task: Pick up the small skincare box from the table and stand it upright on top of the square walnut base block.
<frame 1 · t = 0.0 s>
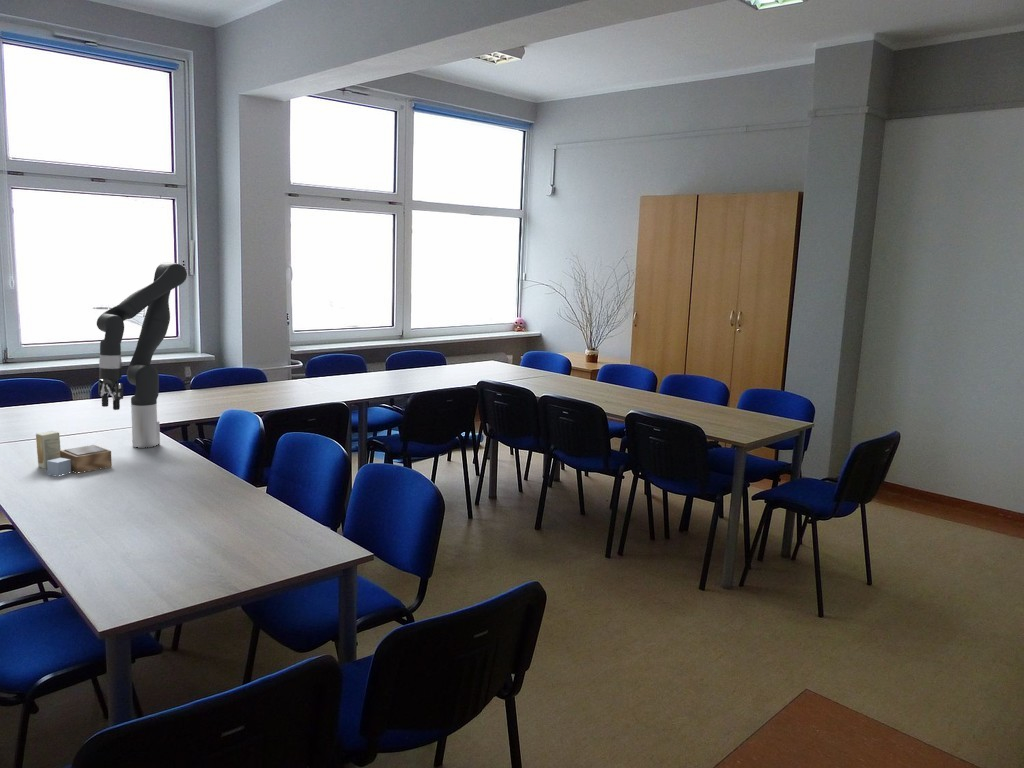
hand: (110, 408, 290), 17 cm above the table, tool pointing down, fingers open, 8 cm apart
walnut base: (86, 467, 271), on the table
skincare box: (49, 466, 271), on the table
slate cube: (59, 474, 262), on the table
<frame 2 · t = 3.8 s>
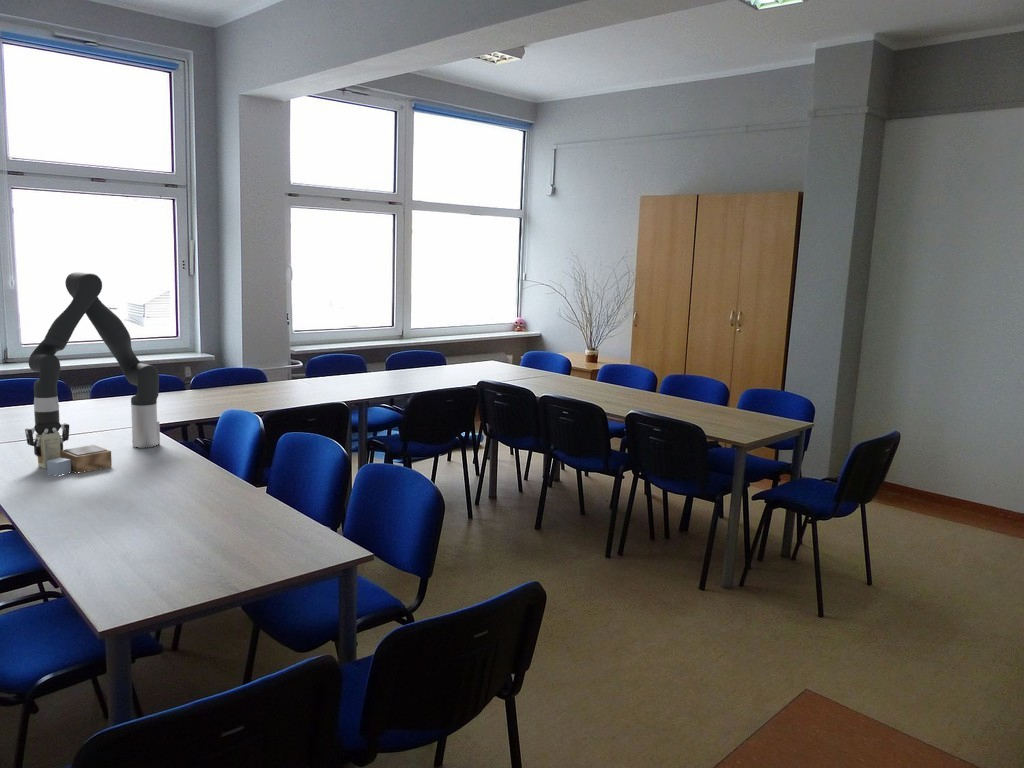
hand: (49, 454, 270), 4 cm above the table, tool pointing down, fingers closed on skincare box, 6 cm apart
skincare box: (49, 466, 271), on the table, touching gripper
everything else where it was.
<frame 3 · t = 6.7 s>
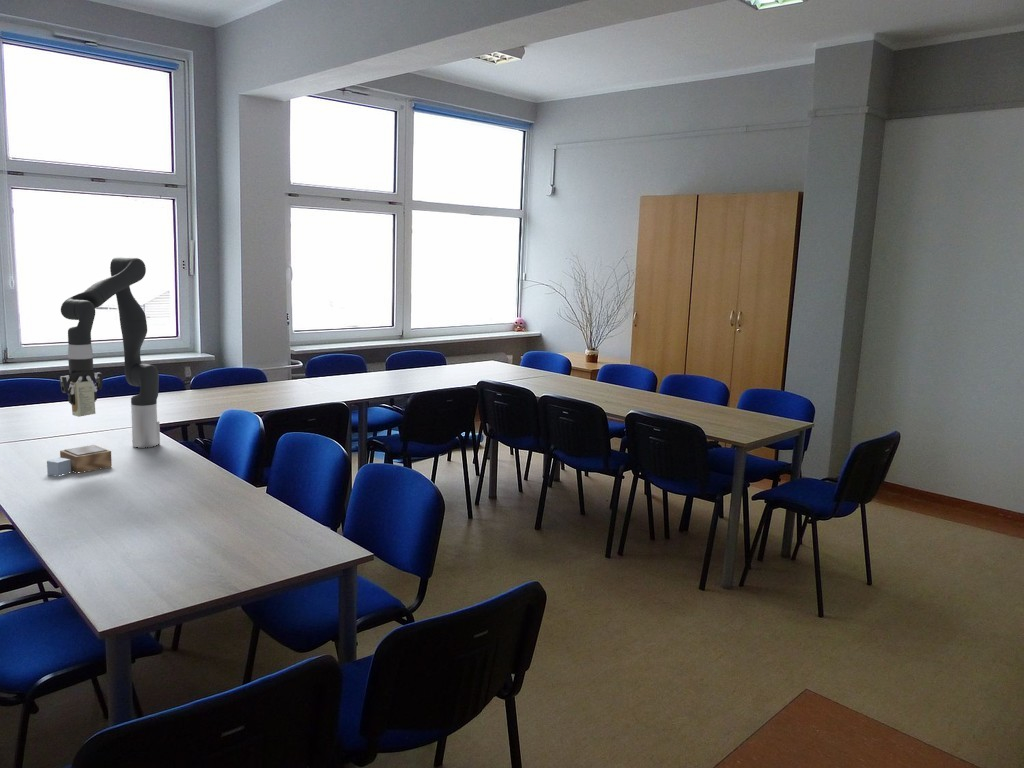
hand: (83, 403, 268), 23 cm above the table, tool pointing down, fingers closed on skincare box, 6 cm apart
skincare box: (83, 415, 268), point 19 cm above the table, touching gripper
everything else where it was.
when the fingers open (12 cm above the table, at t = 9.5 s): skincare box stays where it is, resting on walnut base.
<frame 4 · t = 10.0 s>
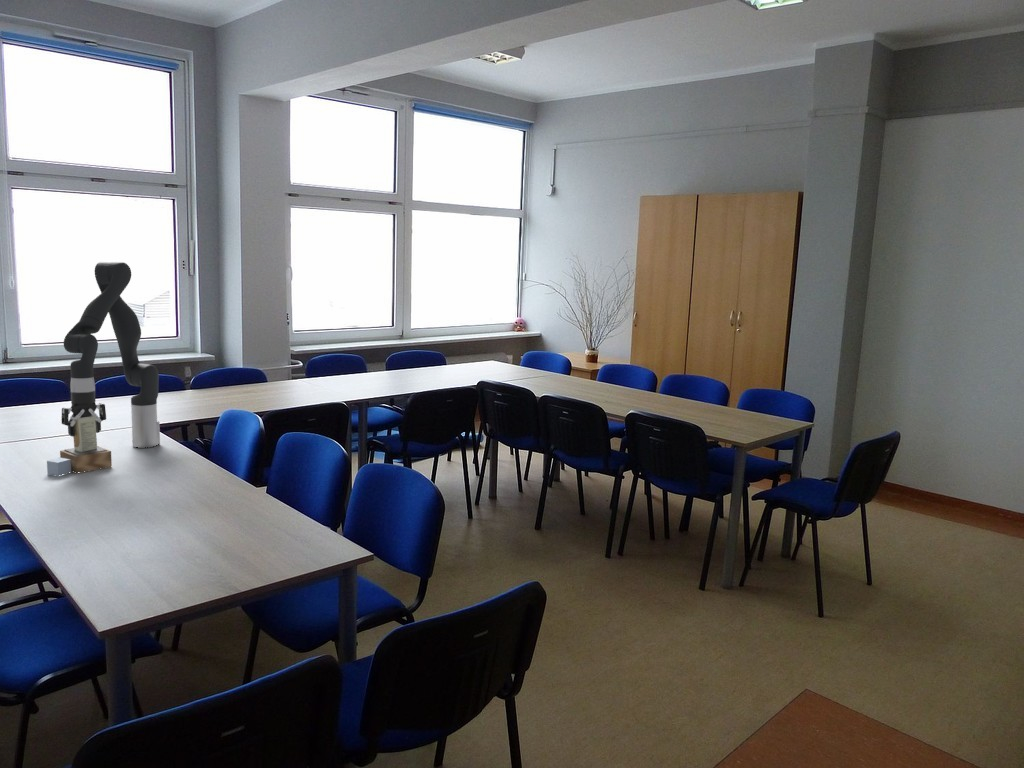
hand: (84, 434, 269), 12 cm above the table, tool pointing down, fingers open, 8 cm apart
skincare box: (85, 450, 270), point 6 cm above the table, touching walnut base
everything else where it was.
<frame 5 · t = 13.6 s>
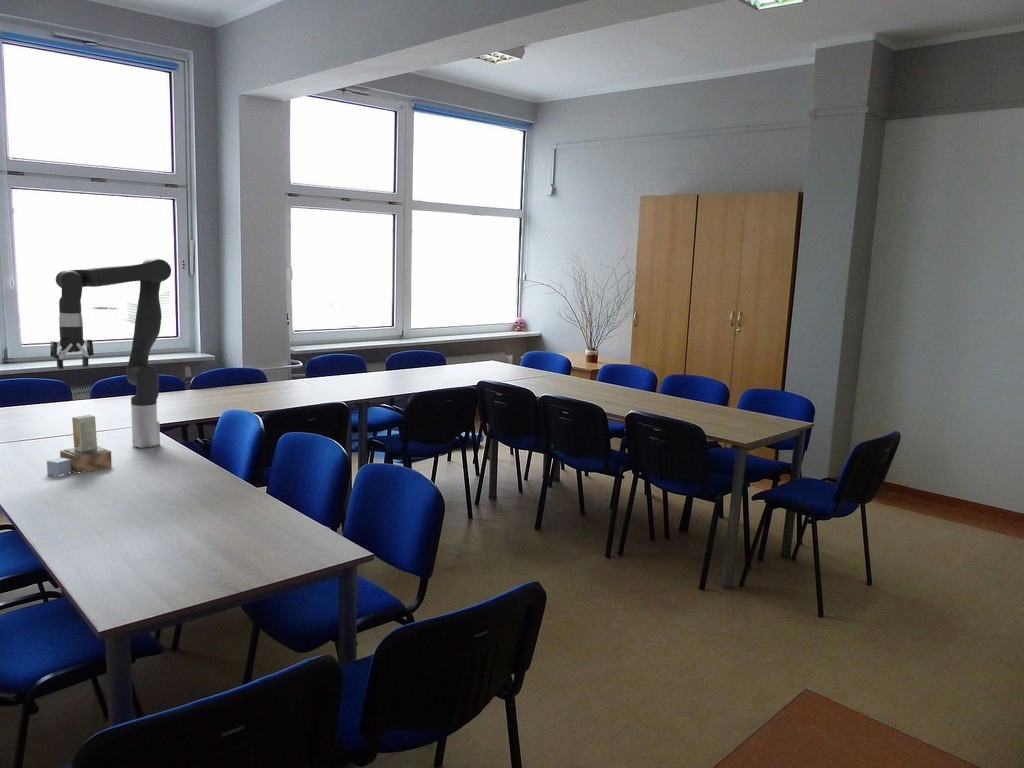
hand: (73, 368, 282), 33 cm above the table, tool pointing down, fingers open, 8 cm apart
nothing on the table moved.
at the end: skincare box inside the target area on the walnut base (0.1 cm from its centre), point 6.2 cm above the walnut base's base; skincare box tilted 0°; the gripper is holding nothing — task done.
